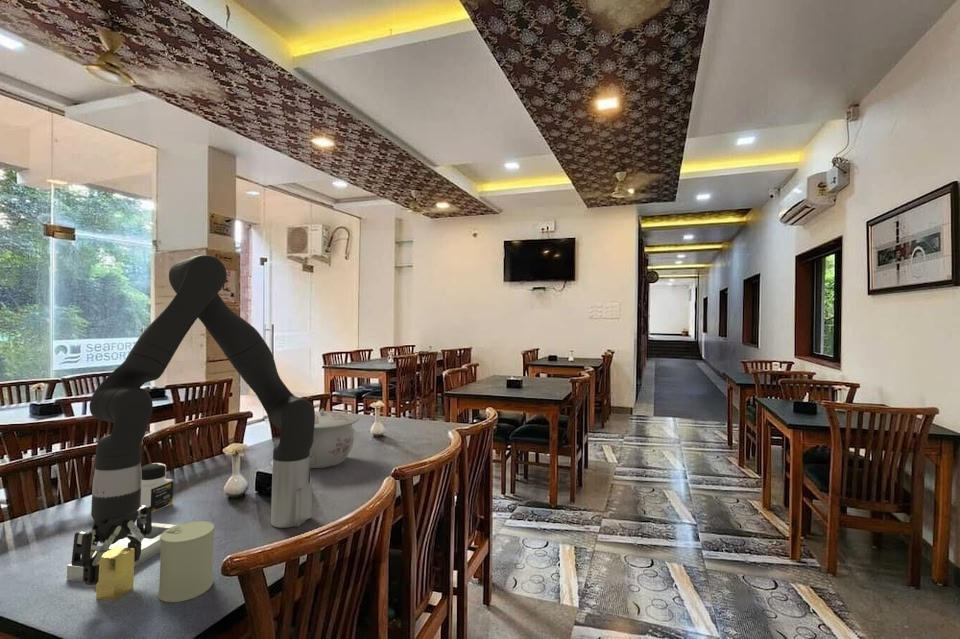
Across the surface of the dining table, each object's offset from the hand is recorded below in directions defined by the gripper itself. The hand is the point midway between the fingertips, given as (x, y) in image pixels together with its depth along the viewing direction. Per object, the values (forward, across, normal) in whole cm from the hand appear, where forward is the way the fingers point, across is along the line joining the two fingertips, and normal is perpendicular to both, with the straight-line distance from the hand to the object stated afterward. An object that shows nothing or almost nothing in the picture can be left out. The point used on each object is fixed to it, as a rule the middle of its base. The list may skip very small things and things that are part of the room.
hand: (113, 571), depth 88 cm
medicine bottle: (+4, +36, +27) cm, 45 cm away
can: (+4, +4, -12) cm, 14 cm away
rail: (+4, +12, +9) cm, 15 cm away
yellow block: (+4, 0, 0) cm, 4 cm away
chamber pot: (+4, +83, +1) cm, 83 cm away
